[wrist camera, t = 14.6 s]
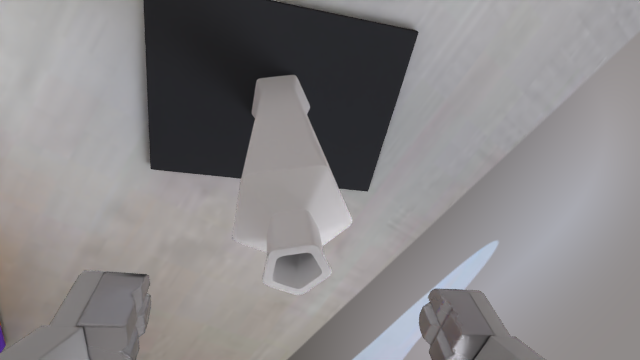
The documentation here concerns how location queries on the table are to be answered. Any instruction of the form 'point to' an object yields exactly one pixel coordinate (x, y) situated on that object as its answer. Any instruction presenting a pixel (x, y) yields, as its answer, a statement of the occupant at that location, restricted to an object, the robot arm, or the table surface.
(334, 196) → the white pentagonal vase
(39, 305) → the table surface
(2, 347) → the game box
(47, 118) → the table surface
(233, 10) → the mat
